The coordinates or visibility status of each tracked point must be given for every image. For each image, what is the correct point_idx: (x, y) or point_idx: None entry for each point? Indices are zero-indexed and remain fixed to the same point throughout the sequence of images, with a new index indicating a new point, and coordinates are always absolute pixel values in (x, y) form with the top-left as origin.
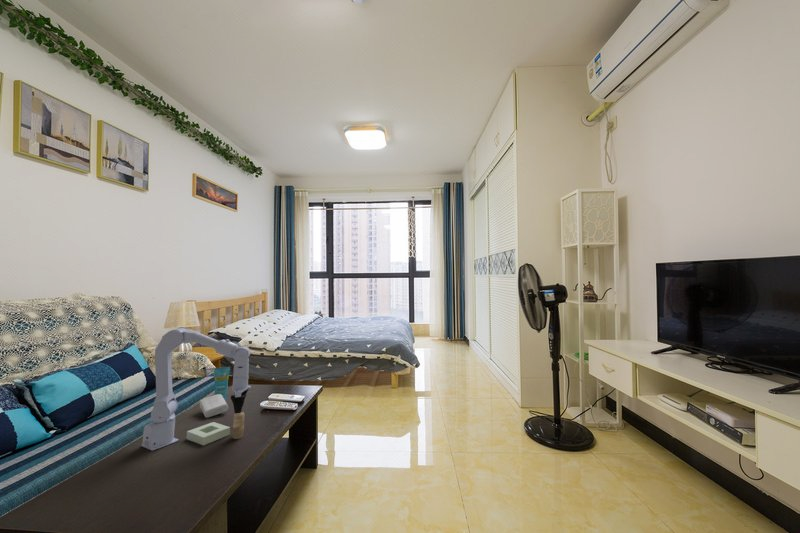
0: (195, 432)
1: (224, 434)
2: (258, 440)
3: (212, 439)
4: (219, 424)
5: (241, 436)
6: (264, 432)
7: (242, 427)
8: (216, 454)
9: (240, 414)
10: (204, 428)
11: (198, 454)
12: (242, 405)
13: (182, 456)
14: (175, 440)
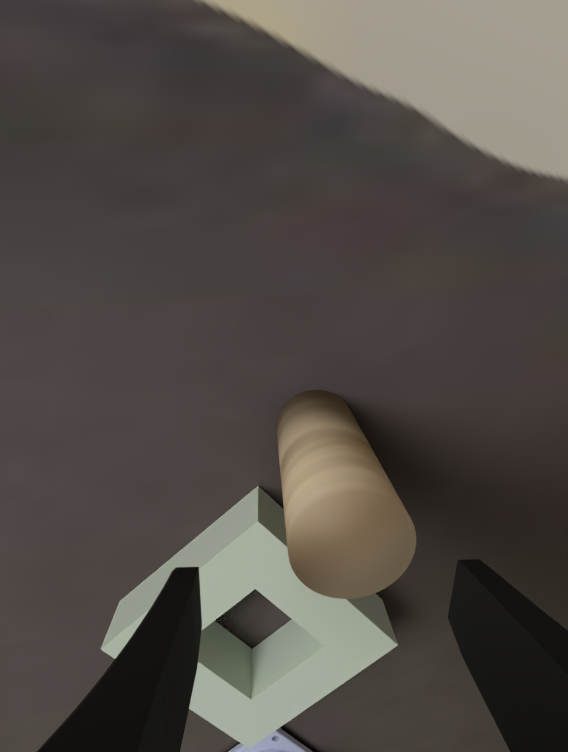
0: (287, 704)
1: None
2: (448, 265)
3: None
4: None
5: (344, 403)
6: (295, 218)
7: (356, 429)
8: (544, 512)
9: (370, 531)
10: (219, 672)
11: None
12: (533, 635)
13: None
14: (271, 738)
